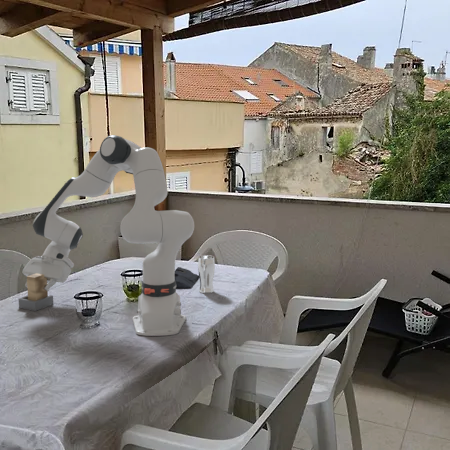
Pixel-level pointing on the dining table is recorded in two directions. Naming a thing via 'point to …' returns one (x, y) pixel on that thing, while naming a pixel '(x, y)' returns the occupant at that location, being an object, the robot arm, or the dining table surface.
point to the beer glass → (206, 273)
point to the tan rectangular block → (36, 286)
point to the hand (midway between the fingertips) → (36, 288)
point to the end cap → (35, 303)
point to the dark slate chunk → (185, 278)
